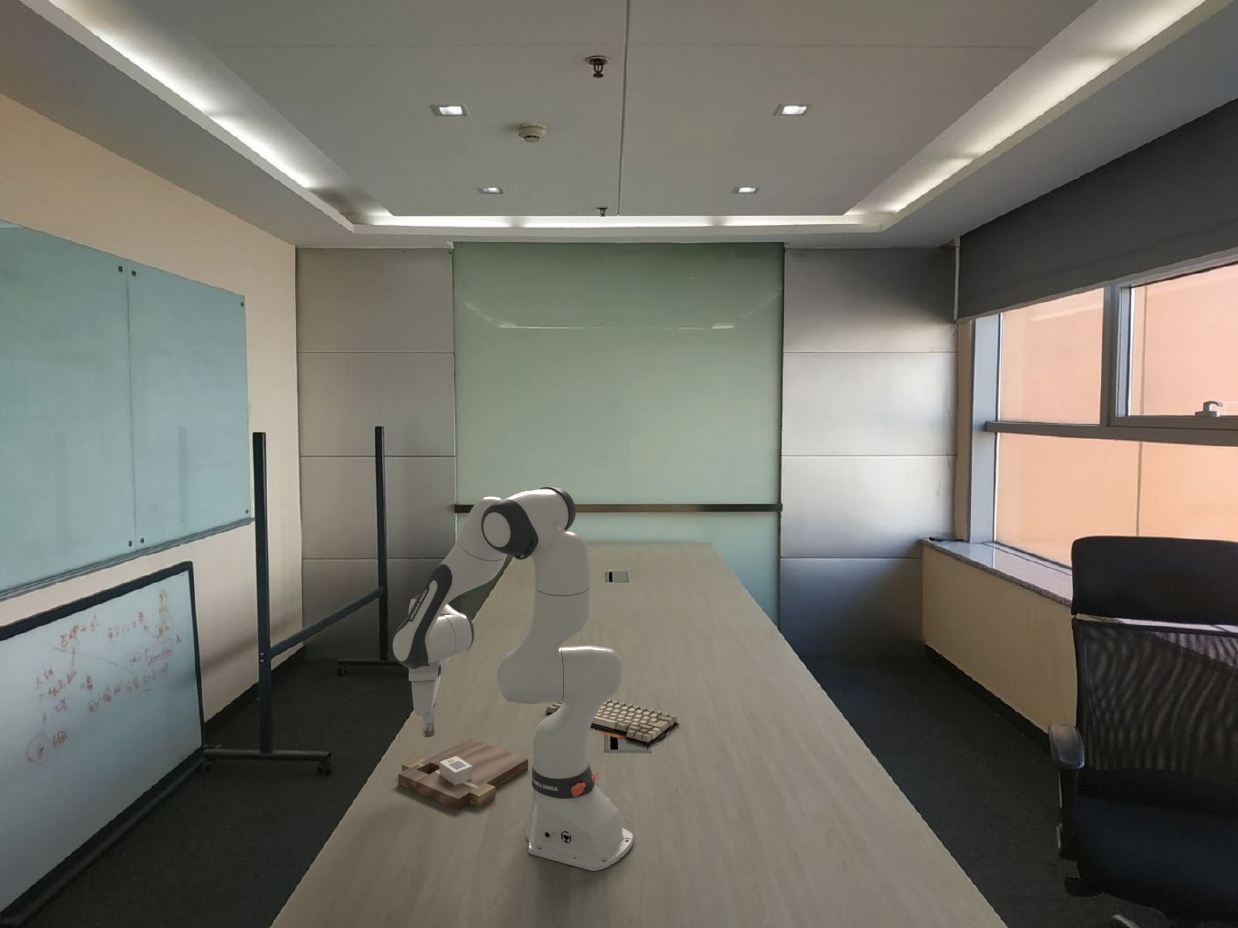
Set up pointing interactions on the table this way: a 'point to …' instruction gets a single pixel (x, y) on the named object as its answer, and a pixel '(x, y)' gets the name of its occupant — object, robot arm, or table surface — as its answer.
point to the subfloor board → (486, 776)
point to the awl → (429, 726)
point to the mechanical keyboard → (629, 722)
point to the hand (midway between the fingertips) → (428, 717)
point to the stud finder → (455, 770)
